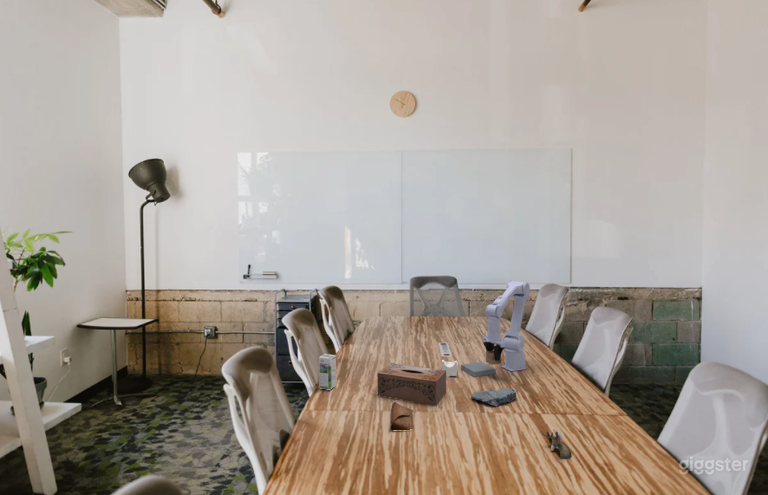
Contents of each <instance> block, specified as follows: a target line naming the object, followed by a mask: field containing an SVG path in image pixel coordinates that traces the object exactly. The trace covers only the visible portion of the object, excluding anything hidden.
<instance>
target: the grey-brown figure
mask: <svg viewBox="0 0 768 495" xmlns="http://www.w3.org/2000/svg"><path fill="white" fill-rule="evenodd" d="M539 432H540V434H541V435H542V436H544V437H545V438H546V439H547V440H548V442H549V444H550V445H551V446H550V449H549V450H550V451H549V452H550V453H551V452H552V451H554V450H555V449H557V448H558V450H559V453H560V454H559V455H560V458H561V459H563V460H565V459H568V460H570V459H571V458H572V452H571V450H570V448H569V447H568V446H567V444H566V443H564V442H563V441H562V440H563V437H562V434H561V432H560V430H558V429H556V430H555V436H554V432H553V431H551V433H549V431H546V433H544V432H543V431H542V430H540V431H539Z"/></svg>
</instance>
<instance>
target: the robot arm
mask: <svg viewBox="0 0 768 495" xmlns="http://www.w3.org/2000/svg"><path fill="white" fill-rule="evenodd" d="M530 290H531V288H530V284H529V282H527V281H515V280H509V281H508V282H507V284H506V290H504V292H503V294H502V295H498V296H497V298H496V299H495V300H494V301H493V302H492V303H491V304H488V305H486V306H485V310H484V313H485V314H484V315H485V316H486V320H487V335H483V336H482V341H483V342H482V343H483V345H484V348H485V352H486V351H491V350H494V355H495V361H499V360H500V357H501V358H502V353H503V351H504V353H505V354H504V365H501V367H502V368H503V369H506V370H507V371H510V372H516V371H522V370H526V369H527V367H526V353H525V351H524V349H525V348H524V347H525V337H524V336H523V334H522V333H521V329H522V328H521V327H522V322H523V317H524V312H525V306H526V301H527V300H529V297H530ZM512 298H513V299H514V305H513V310H512V314H511V315H512V316H511V319H510V320H511V321H510V325H509V330H508V331H505V332H504V333H503V336H502V339H501V317H502V316H503V313H504V310H505V308H507V306H508V304H509V300H510V299H512Z"/></svg>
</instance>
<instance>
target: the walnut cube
mask: <svg viewBox="0 0 768 495" xmlns="http://www.w3.org/2000/svg"><path fill="white" fill-rule="evenodd" d="M485 362H486V363H488V364H490V365H493V366H494V365H499V364H502V356H501V357H500V360H499V361H495V355H494V350H491V351H486V350H485Z"/></svg>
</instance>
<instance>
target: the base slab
mask: <svg viewBox="0 0 768 495" xmlns="http://www.w3.org/2000/svg"><path fill="white" fill-rule="evenodd" d="M460 370H461V371H463V372H465V373H466V374H468V375H470V376H471V377H473V378H478V377H485V376H492V375H496V371H497V369H496V368H494V367H492V366H491V365H489V364H487V363H485V362H482V361H478V362H477V361H476V362H470V363H469V362H468V363H463V364H460Z"/></svg>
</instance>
